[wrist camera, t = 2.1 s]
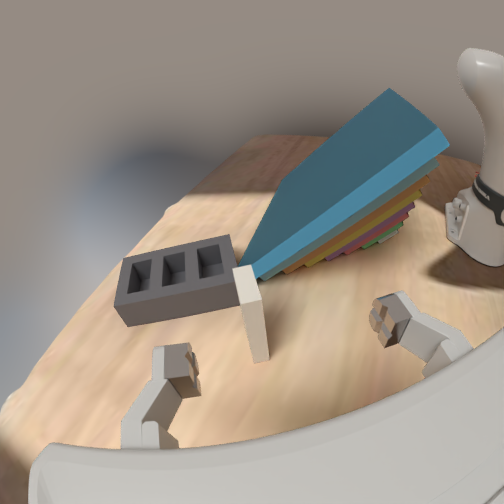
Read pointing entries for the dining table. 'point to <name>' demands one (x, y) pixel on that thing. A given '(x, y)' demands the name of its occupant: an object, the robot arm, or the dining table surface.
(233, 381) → the dining table surface
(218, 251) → the stand
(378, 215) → the stacked coloured sheets
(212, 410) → the dining table surface
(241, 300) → the white rectangular block
